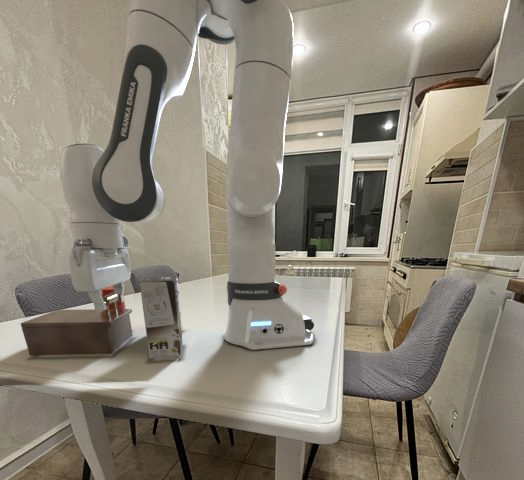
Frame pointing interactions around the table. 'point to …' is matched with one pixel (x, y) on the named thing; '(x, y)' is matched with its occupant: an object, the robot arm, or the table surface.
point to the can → (108, 291)
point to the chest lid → (81, 316)
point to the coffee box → (162, 316)
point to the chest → (77, 338)
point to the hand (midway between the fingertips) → (111, 306)
